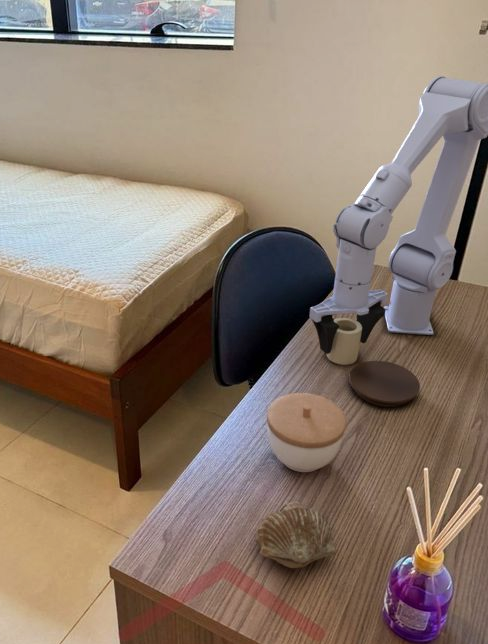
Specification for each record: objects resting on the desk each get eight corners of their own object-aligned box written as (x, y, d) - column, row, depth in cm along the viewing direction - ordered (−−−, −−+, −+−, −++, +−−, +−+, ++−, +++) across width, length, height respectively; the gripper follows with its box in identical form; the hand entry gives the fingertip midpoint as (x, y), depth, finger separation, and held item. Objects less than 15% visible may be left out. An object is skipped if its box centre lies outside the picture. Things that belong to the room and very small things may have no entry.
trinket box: (335, 492, 81) (343, 440, 76) (257, 474, 84) (260, 424, 79) (343, 440, 89) (351, 390, 84) (271, 426, 93) (275, 377, 88)
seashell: (337, 582, 70) (320, 523, 77) (349, 547, 66) (330, 488, 72) (258, 583, 70) (248, 525, 76) (265, 548, 66) (254, 490, 72)
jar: (326, 346, 110) (329, 316, 107) (355, 349, 109) (360, 318, 106) (326, 363, 106) (331, 332, 103) (358, 365, 105) (363, 334, 102)
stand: (345, 367, 105) (347, 358, 104) (412, 372, 103) (414, 363, 101) (349, 407, 96) (351, 397, 95) (422, 414, 94) (425, 404, 92)
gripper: (331, 297, 94) (322, 367, 101) (405, 278, 98) (391, 346, 105) (305, 278, 99) (298, 346, 107) (376, 261, 104) (365, 327, 111)
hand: (342, 345), depth 106 cm, fingers open, 7 cm apart
